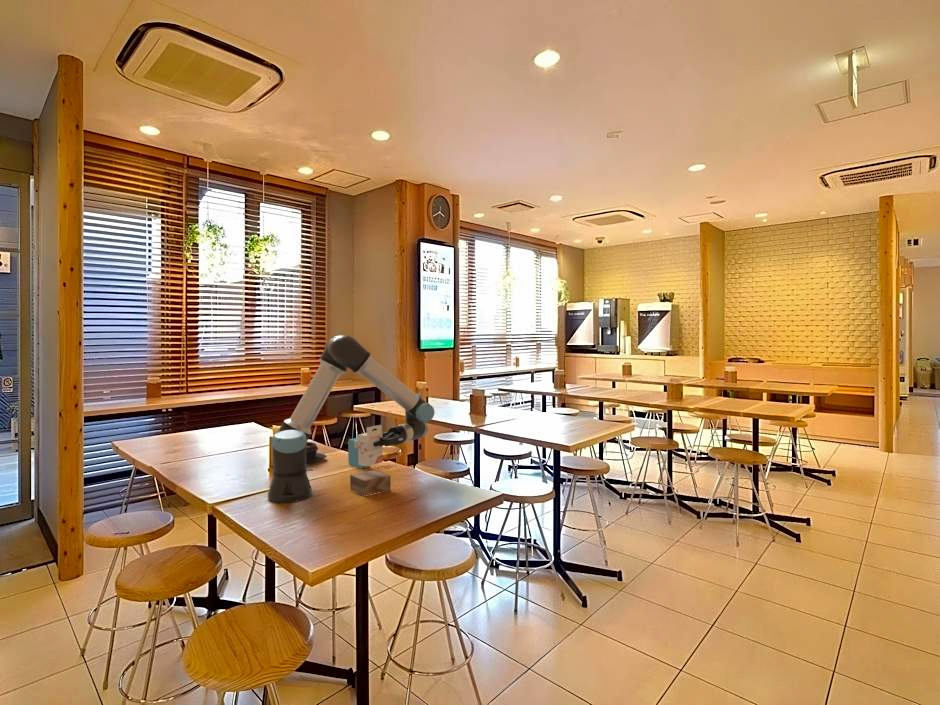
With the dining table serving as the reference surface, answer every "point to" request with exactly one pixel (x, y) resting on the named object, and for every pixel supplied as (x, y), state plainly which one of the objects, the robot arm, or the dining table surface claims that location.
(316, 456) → the casserole
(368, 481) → the walnut block
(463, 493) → the dining table surface
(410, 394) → the robot arm
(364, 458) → the ink cartridge box
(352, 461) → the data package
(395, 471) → the dining table surface
